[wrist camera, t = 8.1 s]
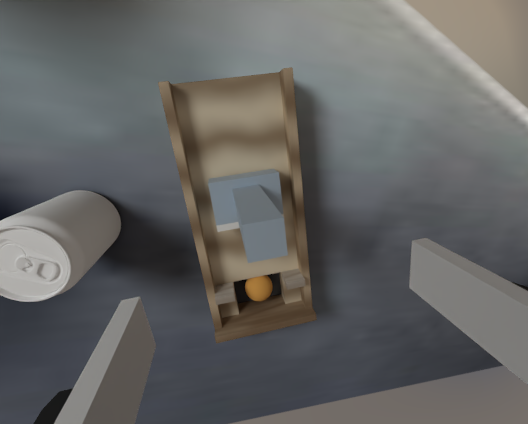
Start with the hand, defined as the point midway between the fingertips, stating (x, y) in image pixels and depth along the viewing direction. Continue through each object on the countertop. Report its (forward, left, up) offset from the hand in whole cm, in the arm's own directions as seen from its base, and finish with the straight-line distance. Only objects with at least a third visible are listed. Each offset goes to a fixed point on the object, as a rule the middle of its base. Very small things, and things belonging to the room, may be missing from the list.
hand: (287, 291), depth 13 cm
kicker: (+1, 0, -22) cm, 22 cm away
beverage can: (+1, -20, -25) cm, 32 cm away
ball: (+15, 0, -23) cm, 27 cm away
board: (+3, 0, -25) cm, 25 cm away
